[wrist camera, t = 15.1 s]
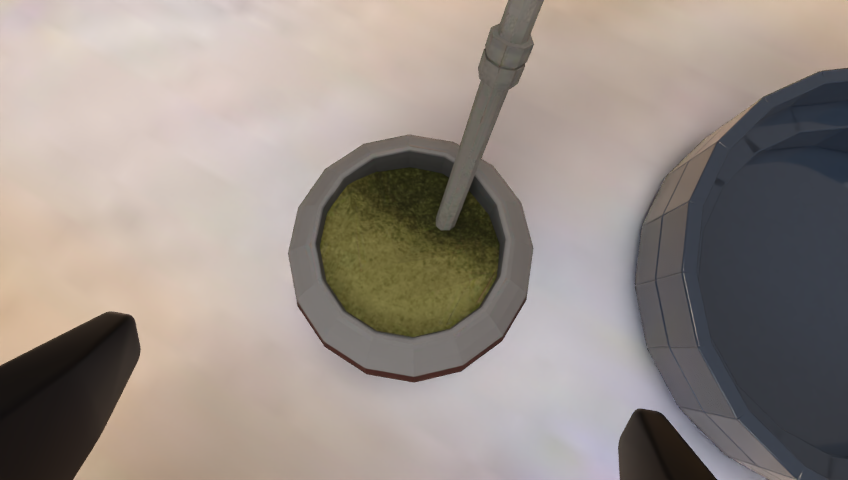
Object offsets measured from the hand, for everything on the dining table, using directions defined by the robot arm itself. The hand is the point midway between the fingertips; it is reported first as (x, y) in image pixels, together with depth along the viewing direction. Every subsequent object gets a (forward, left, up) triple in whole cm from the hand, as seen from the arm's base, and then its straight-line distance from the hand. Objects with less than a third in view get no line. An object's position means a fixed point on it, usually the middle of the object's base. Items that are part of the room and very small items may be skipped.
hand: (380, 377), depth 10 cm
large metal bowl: (+16, -5, -11) cm, 20 cm away
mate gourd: (+2, +3, -12) cm, 12 cm away
